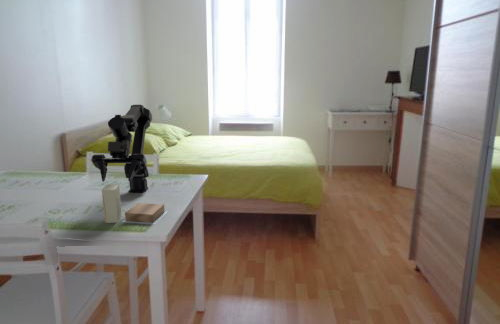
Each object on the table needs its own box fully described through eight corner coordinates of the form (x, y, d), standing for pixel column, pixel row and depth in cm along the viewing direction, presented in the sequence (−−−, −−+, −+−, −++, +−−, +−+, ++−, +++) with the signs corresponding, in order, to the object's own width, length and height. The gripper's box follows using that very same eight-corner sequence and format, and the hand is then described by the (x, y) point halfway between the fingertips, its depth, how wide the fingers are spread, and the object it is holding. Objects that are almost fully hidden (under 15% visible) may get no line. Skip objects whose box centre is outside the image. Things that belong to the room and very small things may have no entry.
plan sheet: (121, 222, 126) (121, 222, 126) (137, 210, 137) (137, 209, 137) (154, 225, 124) (154, 224, 124) (168, 212, 135) (168, 211, 135)
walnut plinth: (125, 221, 127) (124, 212, 126) (138, 210, 136) (138, 203, 135) (153, 222, 125) (152, 214, 124) (164, 212, 134) (164, 204, 134)
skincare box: (109, 217, 131) (106, 184, 128) (122, 216, 132) (119, 183, 129) (104, 223, 125) (100, 189, 122) (117, 223, 126) (114, 189, 123)
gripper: (90, 132, 133) (81, 170, 124) (142, 132, 133) (137, 169, 125) (100, 149, 142) (92, 185, 134) (149, 149, 143) (144, 184, 135)
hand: (116, 181), depth 132 cm, fingers open, 9 cm apart
